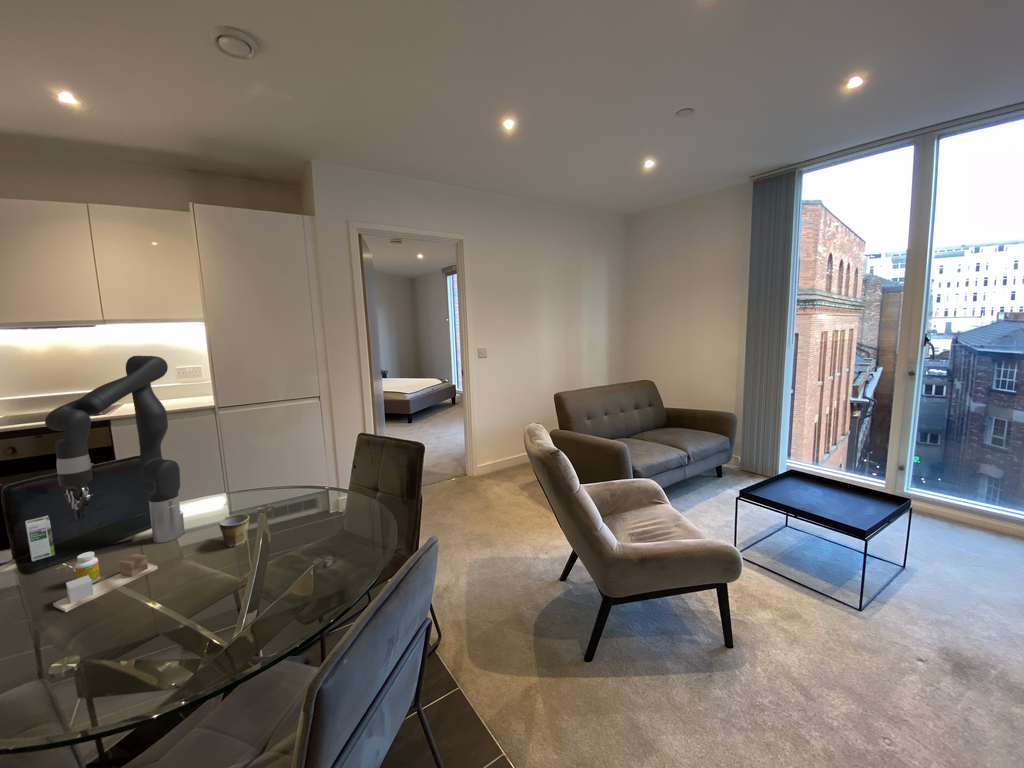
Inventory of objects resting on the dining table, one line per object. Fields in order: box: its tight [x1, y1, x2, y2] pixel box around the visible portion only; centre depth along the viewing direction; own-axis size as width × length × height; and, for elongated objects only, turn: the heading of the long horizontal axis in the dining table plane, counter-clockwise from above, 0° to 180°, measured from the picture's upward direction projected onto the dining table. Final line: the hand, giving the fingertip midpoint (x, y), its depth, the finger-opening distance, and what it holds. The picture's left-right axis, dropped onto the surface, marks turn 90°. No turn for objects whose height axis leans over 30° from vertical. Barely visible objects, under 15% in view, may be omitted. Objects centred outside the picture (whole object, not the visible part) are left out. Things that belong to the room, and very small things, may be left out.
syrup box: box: [24, 515, 56, 562], centre depth 150 cm, size 6×6×14 cm
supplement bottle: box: [74, 551, 101, 584], centre depth 136 cm, size 5×5×10 cm
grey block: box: [65, 575, 94, 603], centre depth 128 cm, size 5×5×5 cm
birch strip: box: [52, 562, 158, 613], centre depth 135 cm, size 24×7×1 cm, turn 160°
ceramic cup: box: [218, 513, 250, 548], centre depth 163 cm, size 13×10×10 cm
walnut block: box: [118, 553, 148, 577], centre depth 141 cm, size 5×5×5 cm
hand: (80, 518), depth 134 cm, fingers closed
